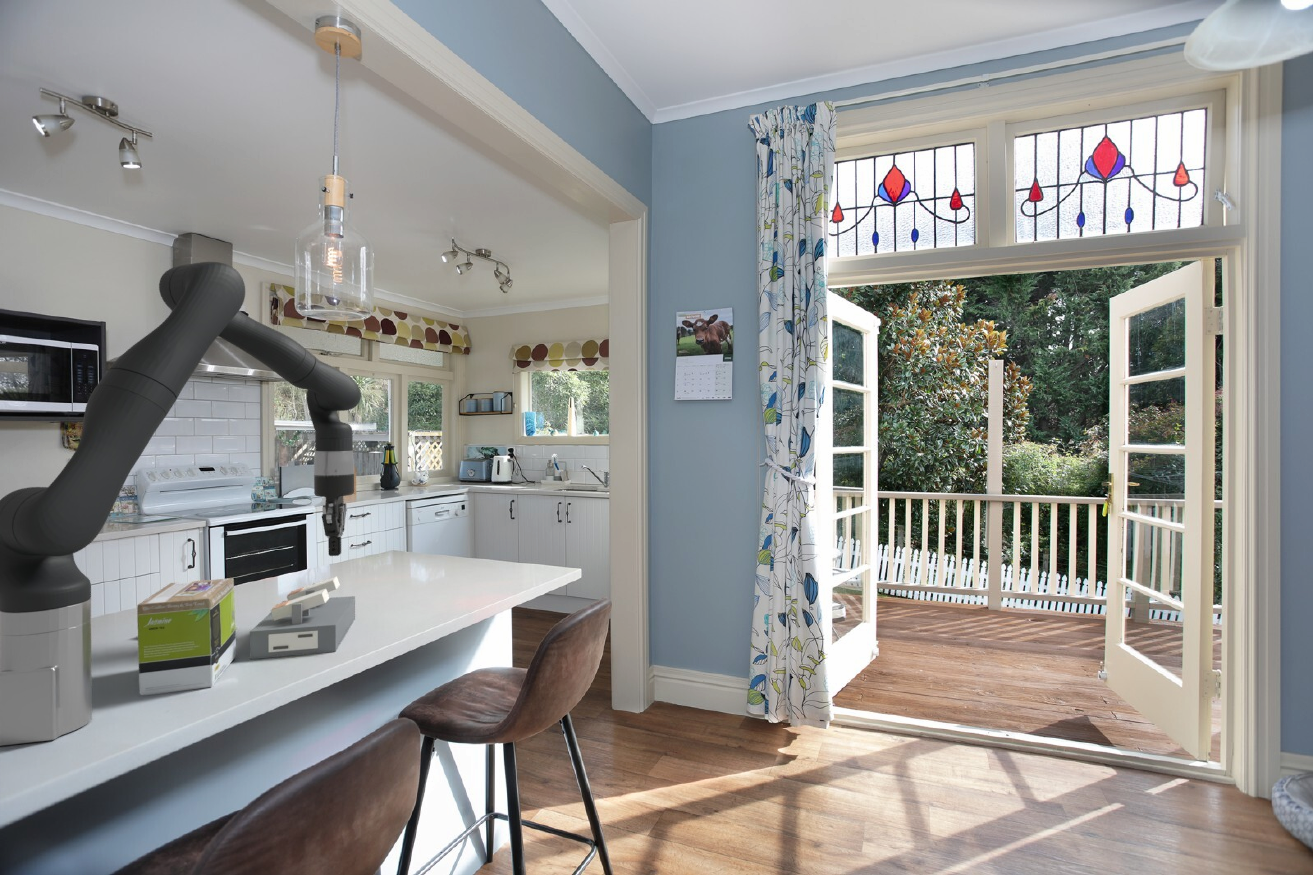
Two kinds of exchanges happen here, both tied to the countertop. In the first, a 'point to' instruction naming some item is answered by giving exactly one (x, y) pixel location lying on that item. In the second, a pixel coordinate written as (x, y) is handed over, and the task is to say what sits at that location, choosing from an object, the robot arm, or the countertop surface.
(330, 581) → the rocker far
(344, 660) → the countertop surface
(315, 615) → the console
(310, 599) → the rocker near
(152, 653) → the tea box
